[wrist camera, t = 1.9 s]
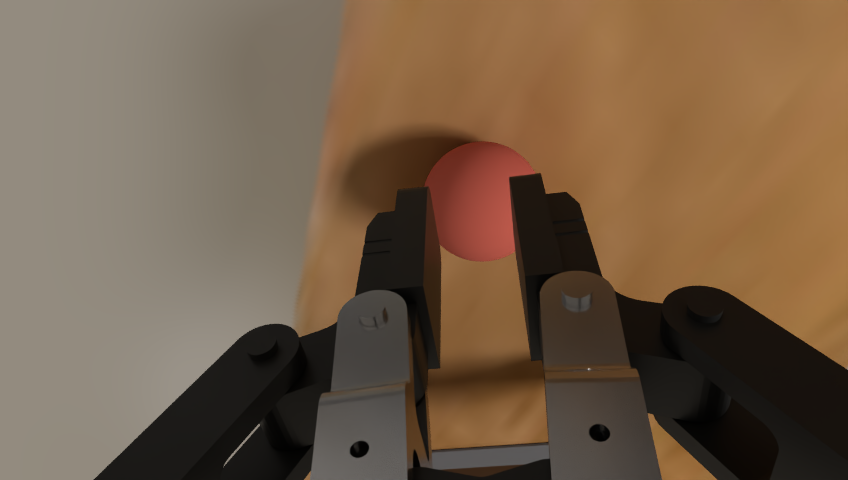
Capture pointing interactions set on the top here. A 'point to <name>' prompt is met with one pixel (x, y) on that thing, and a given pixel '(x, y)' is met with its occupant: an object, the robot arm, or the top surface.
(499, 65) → the top surface
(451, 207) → the ball
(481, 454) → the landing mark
